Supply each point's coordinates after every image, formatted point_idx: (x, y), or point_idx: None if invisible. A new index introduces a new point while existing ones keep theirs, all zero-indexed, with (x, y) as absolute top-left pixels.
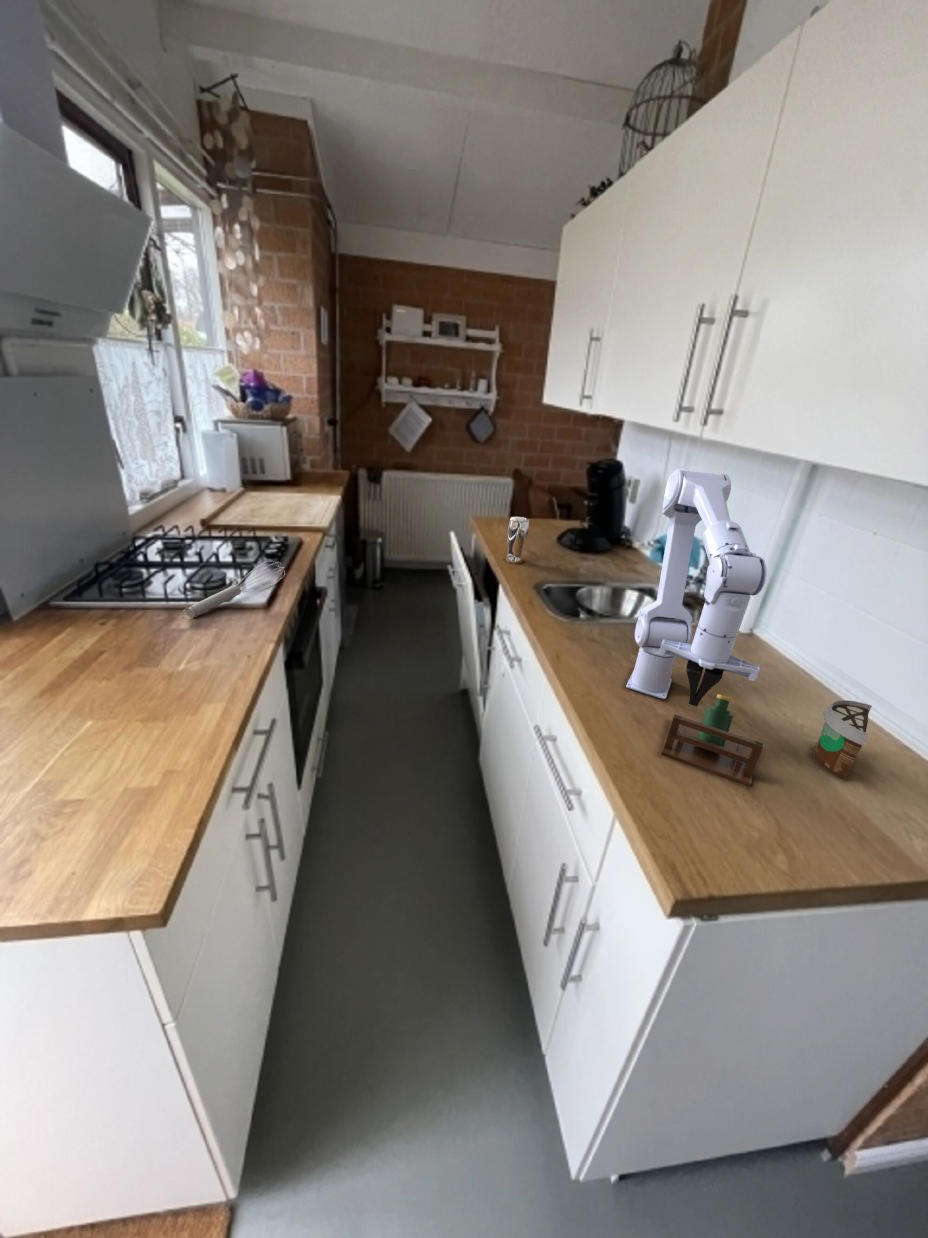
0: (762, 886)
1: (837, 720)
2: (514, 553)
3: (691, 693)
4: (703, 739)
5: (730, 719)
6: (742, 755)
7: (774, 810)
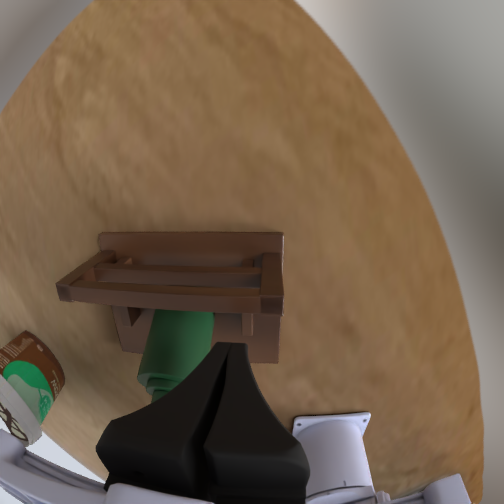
0: (90, 5)
1: (6, 401)
2: None
3: (244, 369)
4: None
5: (140, 366)
6: (105, 273)
7: (65, 188)
